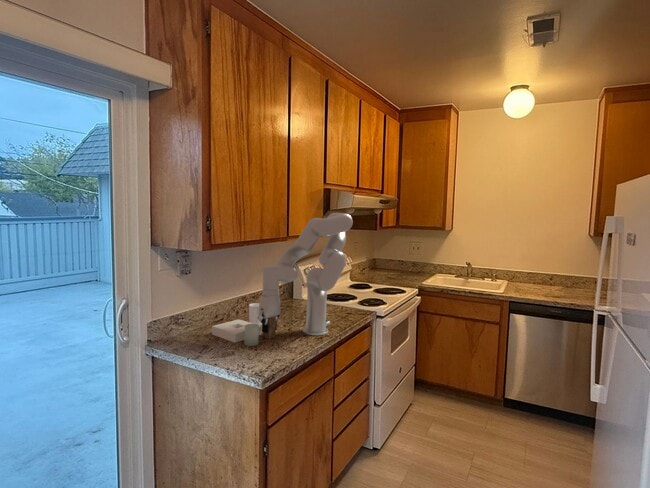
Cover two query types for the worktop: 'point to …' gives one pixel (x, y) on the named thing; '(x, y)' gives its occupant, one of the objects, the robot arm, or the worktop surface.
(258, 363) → the worktop surface
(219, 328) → the cream socket block
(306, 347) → the worktop surface
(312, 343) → the worktop surface
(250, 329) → the sage round peg
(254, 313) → the white cup
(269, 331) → the walnut square peg
